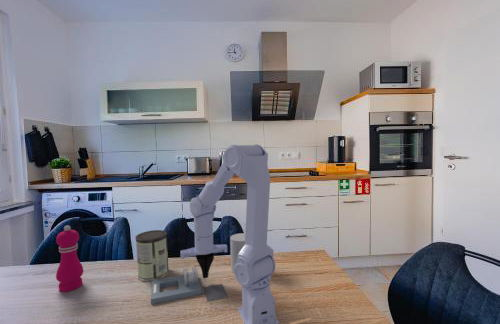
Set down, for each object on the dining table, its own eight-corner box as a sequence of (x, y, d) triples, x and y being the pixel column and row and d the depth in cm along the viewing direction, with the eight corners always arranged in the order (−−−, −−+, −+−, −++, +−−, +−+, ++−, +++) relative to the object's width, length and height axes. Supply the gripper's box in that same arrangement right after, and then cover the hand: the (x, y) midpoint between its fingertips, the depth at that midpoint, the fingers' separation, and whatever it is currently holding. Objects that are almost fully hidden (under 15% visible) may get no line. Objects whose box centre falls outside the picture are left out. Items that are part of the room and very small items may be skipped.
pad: (228, 298, 74) (228, 297, 74) (207, 302, 72) (207, 301, 72) (222, 284, 82) (222, 283, 82) (203, 288, 80) (203, 287, 80)
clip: (198, 283, 79) (197, 272, 79) (184, 286, 78) (184, 274, 78) (196, 277, 83) (196, 267, 83) (183, 280, 82) (183, 269, 82)
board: (201, 295, 76) (201, 288, 76) (151, 305, 72) (150, 298, 72) (196, 277, 87) (196, 272, 87) (152, 286, 82) (152, 280, 82)
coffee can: (146, 267, 96) (144, 229, 95) (173, 267, 95) (171, 230, 94) (131, 281, 86) (129, 239, 85) (161, 282, 85) (159, 240, 84)
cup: (254, 275, 87) (253, 241, 87) (230, 276, 87) (229, 241, 87) (254, 265, 95) (253, 233, 95) (232, 265, 96) (231, 233, 95)
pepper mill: (70, 293, 79) (66, 229, 78) (51, 291, 80) (46, 228, 79) (89, 281, 86) (86, 222, 85) (71, 280, 87) (67, 222, 86)
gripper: (223, 228, 87) (224, 267, 88) (179, 233, 83) (180, 275, 84) (228, 234, 81) (229, 276, 81) (180, 241, 76) (182, 285, 77)
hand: (205, 276), depth 82 cm, fingers closed
